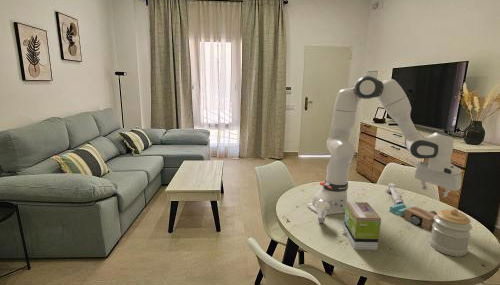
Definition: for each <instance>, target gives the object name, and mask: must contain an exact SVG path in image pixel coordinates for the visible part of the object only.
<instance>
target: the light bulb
mask: <svg viewBox="0 0 500 285" xmlns="http://www.w3.org/2000/svg"><path fill="white" fill-rule="evenodd" d="M315 209H316V211H317V213H316V214H317V221H318V222H319V224H323V223H325V221H326V220H325V219H326V216H327V215H326V214H327V213H328V212H329V209H330V205H329V203H328V202H327V201H326V200H324V199H320V200H318V201H317V202H316V204H315Z"/></svg>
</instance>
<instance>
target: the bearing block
mask: <svg viewBox="0 0 500 285" xmlns="http://www.w3.org/2000/svg"><path fill="white" fill-rule="evenodd" d="M411 207H412V208H408V209H406V210H405V215H404V217H403V219H404V220H405V221H407V222H410V218H411V217H414V216H418V217H421V218H423V220H422V223H421V227H420V228H422V229H424V230H427V231H431V230H432V227H433V226H432V225H433V223H434V222H435V221H434V216H436V215H435V214H433V213H430V211H428V210H425V209H423V208H421V207H418V206H416V205H415V206H411ZM410 223H411V222H410Z"/></svg>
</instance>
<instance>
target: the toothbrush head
mask: <svg viewBox="0 0 500 285" xmlns="http://www.w3.org/2000/svg"><path fill="white" fill-rule="evenodd" d="M386 193H387V194H389V195H391V196H392V198H393V203H394V205H397V204H401V203H403V204H405V203H404V200H403V198H401V196H400V194H399V193H398V190H397V189H396V184H394V183H393V182H390V183H389V184H388V185H387V186H386Z"/></svg>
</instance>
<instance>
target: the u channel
mask: <svg viewBox="0 0 500 285" xmlns="http://www.w3.org/2000/svg"><path fill="white" fill-rule="evenodd" d="M403 203H404V202H403ZM403 203H401V204H397V205H396V204H394V205H390V207H389V212H390V213H392V214H394V215H396V216H399V217H403V216H405V210H406V209H408V208H412V207H413V206H408V207H407V206H406V204H405V203H404V204H403Z"/></svg>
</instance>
